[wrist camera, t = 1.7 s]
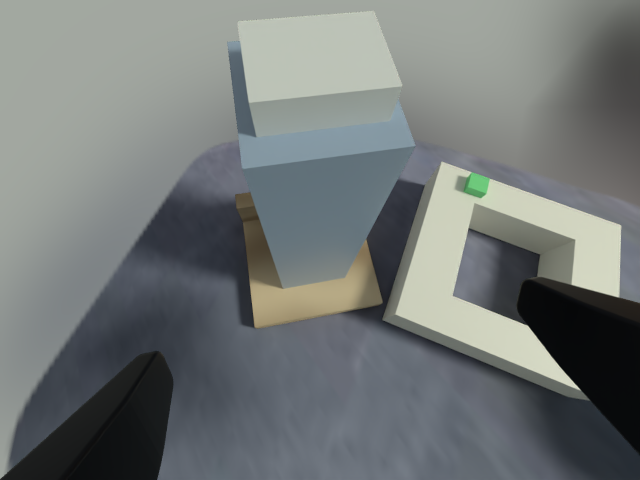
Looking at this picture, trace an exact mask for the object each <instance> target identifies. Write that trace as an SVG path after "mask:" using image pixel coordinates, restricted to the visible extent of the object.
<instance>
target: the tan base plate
mask: <svg viewBox="0 0 640 480" xmlns="http://www.w3.org/2000/svg"><path fill="white" fill-rule="evenodd" d="M235 198H236V207H237V210H238V213H239V215H240V217H241V219H242V221H243V227H244V235H245V244H246V253H247V262H248V271H249V280H250V289H251V298H252V307H253V316H254V325H255V328H257V329H259V328H264V327H269V326H275V325H280V324H285V323H290V322H295V321H300V320H306V319H311V318H316V317H321V316H326V315H332V314H337V313H342V312H347V311H352V310H357V309H363V308H368V307H373V306H378V305H380V304H382V303H383V301H382V297H381V294H380V290H379V286H378V282H377V278H376V275H375V271H374V267H373V263H372V259H371V256H370V252H369V248H368V244H367V240H365V241H364V243H363V245H362V247H361V249H360V251H359V253H358V255H357V256H356V258H355V260H354V262H353V264H352V266H351V268H350V269H349V271H348V273H347V275H346V277H345V278H341V279H335V280H330V281H324V282H319V283H313V284H308V285H302V286H296V287H291V288H285V289H283V287H282V284H281V281H280V278H279V275H278V272H277V269H276V266H275V263H274V260H273V258H272V255H271V252H270V249H269V246H268V243H267V240H266V237H265V234H264V231H263V228H262V225H261V222H260V219H259V216H258V213H257V211H256V208H255V205H254V202H253V199H252V196H251V193H243V194H236V195H235Z"/></svg>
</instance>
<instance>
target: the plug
mask: <svg viewBox="0 0 640 480" xmlns="http://www.w3.org/2000/svg"><path fill="white" fill-rule="evenodd" d="M237 23H238V30H239V37H240V41H232V42H227V44H228V52H229V61H230V70H231V77H232V86H233V94H234V103H235V111H236V120H237V127H238V137H239V145H240V153H241V162H242V169H243V172H244V175H245V178H246V181H247V184H248V187H249V190H250V193H251V196H252V199H253V202H254V205H255V208H256V211H257V213H258V216H259V219H260V222H261V225H262V228H263V231H264V234H265V237H266V240H267V243H268V246H269V249H270V252H271V255H272V258H273V260H274V263H275V266H276V269H277V272H278V275H279V278H280V281H281V284H282V287H283V289H285V288H291V287H296V286H302V285H308V284H313V283H319V282H324V281H330V280H335V279H341V278H345V277H346V275H347V273H348V271H349V269H350V268H351V266H352V264H353V262H354V260H355V258H356V256H357V255H358V253H359V251H360V249H361V247H362V245H363V243H364V241H365V240H366V238H367V236H368V234H369V232H370V230H371V228H372V227H373V225H374V223H375V221H376V219H377V217H378V215H379V213H380V212H381V210H382V208H383V206H384V204H385V202H386V200H387V199H388V197H389V195H390V193H391V191H392V189H393V187H394V185H395V184H396V182H397V180H398V178H399V176H400V174H401V172H402V171H403V169H404V167H405V165H406V163H407V161H408V159H409V157H410V156H411V154H412V152H413V150H414V148H415V143H414V140H413V138H412V135H411V132H410V129H409V127H408V124H407V121H406V119H405V116H404V113H403V110H402V108H401V105H400V102H399V100H398V98H399V95H400V92H401V90H402V87H403V85H402V83H401V81H400V78H399V75H398V73H397V70H396V67H395V65H394V62H393V59H392V57H391V54H390V52H389V49H388V46H387V44H386V41H385V38H384V36H383V34H382V31H381V28H380V25H379V23H378V20H377V18H376V15H375V12H374V11H366V12H354V13H341V14H329V15H316V16H302V17H289V18H277V19H263V20H251V21H238V22H237Z"/></svg>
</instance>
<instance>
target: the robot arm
mask: <svg viewBox="0 0 640 480" xmlns="http://www.w3.org/2000/svg"><path fill="white" fill-rule="evenodd" d="M516 307H517V311H518V313H519V315H520V316H521V318H522V319H523V320H524V321H525V323H526V324H527V325H528V327H529V328H530V329H531V331H532V332H533V333H534V334H535V336H536V337H537V338H538V340H539V341H540V342H541V344H542V345H543V346H544V347H545V349H546V350H547V351H548V353H549V354H550V355H551V357H552V358H553V359H554V360H555V362H556V363H557V364H558V365H559V367H560V368H561V369H562V370H563V371H564V372H565V373H566V375H567V376H568V377H569V378H570V379H571V380H572V381H573V382H574V383H575V385H576V386H577V387H578V388H579V389H580V390H581V391H582V392H583V393H584V394H585V396H586V397H587V398H588V399H589V400H590V401H591V402H592V403H593V404H594V405H595V407H596V408H597V409H598V410H599V411H600V412H601V413H602V414H603V415H604V416H605V418H606V419H607V420H608V421H609V422H610V423H611V424H612V425H613V426H614V427H615V429H616V430H617V431H618V432H619V433H620V434H621V435H622V436H623V437H624V438H625V440H626V441H627V442H628V443H629V444H630V445H631V446H632V447H633V448H634V449H635V451H636V452H637V453H638V454H639V455H640V303H638V302H634V301H630V300H626V299H623V298H619V297H615V296H611V295H608V294H604V293H600V292H597V291H593V290H589V289H585V288H582V287H578V286H574V285H570V284H567V283H563V282H559V281H556V280H552V279H548V278H544V277H534V278H528V279H525V280H523V282H522V283H521V286H520V290H519V295H518V299H517V304H516ZM172 391H173V377H172V374H171V372H170V370H169V367H168V365H167V363H166V361H165V358H164V356H163V354H162V353H161V352H159V351H154V352H149V353H144V354H141V355H139V356H137V357H136V358H135V359H134V360H133V361H132V362H131V363H129V364H128V365H127V366H126V367H125V368H124V369H123V370H122V371H121V372H119V373H118V374H117V375H116V376H115V377H114V378H113V379H112V380H110V381H109V382H108V383H107V384H106V385H105V386H104V387H103V388H102V389H100V390H99V391H98V392H97V393H96V394H95V395H94V396H93V397H92V398H90V399H89V400H88V401H87V402H86V403H85V404H84V405H83V406H81V407H80V408H79V409H78V410H77V411H76V412H75V413H74V414H73V415H71V416H70V417H69V418H68V419H67V420H66V421H65V422H64V423H62V424H61V425H60V426H59V427H58V428H57V429H56V430H55V431H54V432H52V433H51V434H50V435H49V436H48V437H47V438H46V439H45V440H43V441H42V442H41V443H40V444H39V445H38V446H37V447H36V448H35V449H33V450H32V451H31V452H30V453H29V454H28V455H27V456H26V457H24V458H23V459H22V460H21V461H20V462H19V463H18V464H17V465H16V466H14V467H13V468H12V469H11V470H10V471H9V472H8V473H7V474H5V475H4V476H3V477H2V478H1V479H0V480H157V478H158V474H159V470H160V466H161V461H162V456H163V451H164V445H165V438H166V431H167V425H168V418H169V411H170V405H171V398H172Z"/></svg>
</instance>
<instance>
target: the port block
mask: <svg viewBox="0 0 640 480" xmlns="http://www.w3.org/2000/svg"><path fill="white" fill-rule="evenodd" d="M468 228H470V229H473V230H476V231H478V232H481V233H484V234H486V235H489V236H492V237H494V238H497V239H500V240H502V241H505V242H508V243H510V244H513V245H516V246H518V247H521V248H524V249H526V250H529V251H532V252H534V253H537V254H540V259H539V266H538V273H537V277H544V278H548V279H552V280H556V281H559V282H563V283H567V284H570V285H574V286H578V287H582V288H585V289H589V290H593V291H597V292H600V293H604V294H608V295H611V296H615V297H619V283H620V247H621V225H618V224H616V223H613V222H610V221H607V220H604V219H602V218H599V217H596V216H593V215H590V214H587V213H585V212H582V211H579V210H576V209H573V208H571V207H568V206H565V205H562V204H559V203H556V202H554V201H551V200H548V199H545V198H542V197H540V196H537V195H534V194H531V193H528V192H526V191H523V190H520V189H517V188H514V187H511V186H509V185H506V184H503V183H500V182H497V181H495V180H492V179H489V178H486V177H484V176H481V175H478V174H475V173H472V172H469V171H466V170H464V169H461V168H458V167H455V166H452V165H450V164H447V163H444V162H441V163H440V165H439V166H438V168H437V169H436V170H435V172H434V173H433V174H432V176H431V177H430V179H429V180H428V181H427V183H426V184H425V187H424V190H423V193H422V196H421V199H420V202H419V205H418V209H417V212H416V215H415V218H414V221H413V224H412V228H411V231H410V234H409V237H408V240H407V243H406V246H405V250H404V253H403V256H402V259H401V262H400V265H399V268H398V272H397V275H396V278H395V281H394V284H393V287H392V291H391V294H390V297H389V300H388V303H387V306H386V309H385V313H384V316H383V319H382V320H383V321H386V322H388V323H391V324H393V325H395V326H398V327H400V328H403V329H405V330H407V331H410V332H412V333H415V334H417V335H420V336H422V337H424V338H427V339H429V340H432V341H434V342H436V343H439V344H441V345H444V346H446V347H448V348H451V349H453V350H456V351H458V352H461V353H463V354H465V355H468V356H470V357H473V358H475V359H477V360H480V361H482V362H485V363H487V364H489V365H492V366H494V367H497V368H499V369H502V370H504V371H506V372H509V373H511V374H514V375H516V376H518V377H521V378H523V379H526V380H528V381H530V382H533V383H535V384H538V385H540V386H543V387H545V388H547V389H550V390H552V391H555V392H557V393H559V394H562V395H564V396H567V397H571V398H577V399H583V400H589V399H588V398H587V397H586V396H585V394H584V393H583V392H582V391H581V390H580V389H579V388H578V387H577V386H576V385H575V383H574V382H573V381H572V380H571V379H570V378H569V377H568V376H567V375H566V373H565V372H564V371H563V370H562V369H561V368H560V367H559V365H558V364H557V363H556V362H555V360H554V359H553V358H552V357H551V355H550V354H549V353H548V351H547V350H546V349H545V347H544V346H543V345H542V344H541V342H540V341H539V340H538V338H537V337H536V336H535V334H534V333H533V332H532V331H531V329H530V328H529V327H528V326H527V325H524V324H522V323H519V322H517V321H514V320H512V319H509V318H507V317H504V316H502V315H499V314H497V313H494V312H492V311H489V310H487V309H484V308H482V307H479V306H477V305H474V304H472V303H469V302H466V301H464V300H461V299H459V298H456V297H454V296H452V295H453V291H454V287H455V283H456V279H457V274H458V270H459V266H460V262H461V258H462V253H463V249H464V245H465V241H466V237H467V232H468ZM589 401H590V400H589Z"/></svg>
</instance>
